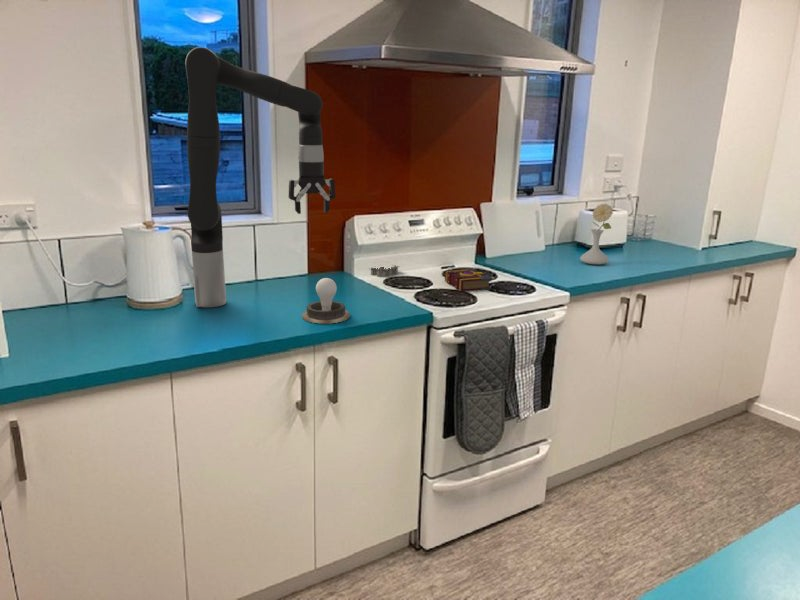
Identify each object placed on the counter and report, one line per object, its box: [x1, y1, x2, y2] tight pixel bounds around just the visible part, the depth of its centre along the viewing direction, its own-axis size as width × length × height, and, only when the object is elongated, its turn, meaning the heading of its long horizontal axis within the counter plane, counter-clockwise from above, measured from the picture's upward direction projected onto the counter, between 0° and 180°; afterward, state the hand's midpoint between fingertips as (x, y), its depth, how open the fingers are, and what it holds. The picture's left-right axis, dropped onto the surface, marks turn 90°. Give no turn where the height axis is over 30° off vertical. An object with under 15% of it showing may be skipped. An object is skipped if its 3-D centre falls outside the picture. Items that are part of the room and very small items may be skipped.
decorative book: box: [444, 267, 492, 292], centre depth 227 cm, size 11×16×5 cm
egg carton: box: [368, 264, 400, 278], centre depth 241 cm, size 11×8×4 cm
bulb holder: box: [302, 300, 351, 325], centre depth 190 cm, size 14×14×3 cm
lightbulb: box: [315, 277, 338, 311], centre depth 189 cm, size 6×6×11 cm
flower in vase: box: [579, 203, 614, 265], centre depth 259 cm, size 13×11×25 cm
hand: (312, 213), depth 200 cm, fingers open, 8 cm apart
